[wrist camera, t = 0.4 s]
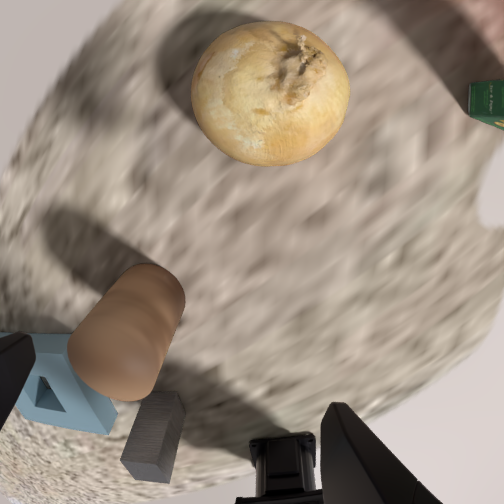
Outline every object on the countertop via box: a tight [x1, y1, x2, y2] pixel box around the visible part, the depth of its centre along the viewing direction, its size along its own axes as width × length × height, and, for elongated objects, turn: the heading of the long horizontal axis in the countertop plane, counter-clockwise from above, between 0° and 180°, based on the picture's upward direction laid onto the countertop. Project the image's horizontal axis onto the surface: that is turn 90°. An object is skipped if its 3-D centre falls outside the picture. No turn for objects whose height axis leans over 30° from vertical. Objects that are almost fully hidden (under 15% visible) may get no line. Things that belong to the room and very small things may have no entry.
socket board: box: [0, 332, 118, 435], centre depth 25 cm, size 10×12×3 cm
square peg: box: [120, 391, 186, 484], centre depth 23 cm, size 3×3×8 cm
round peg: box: [67, 263, 185, 401], centre depth 19 cm, size 5×5×8 cm
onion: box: [191, 21, 350, 166], centre depth 14 cm, size 8×8×7 cm
